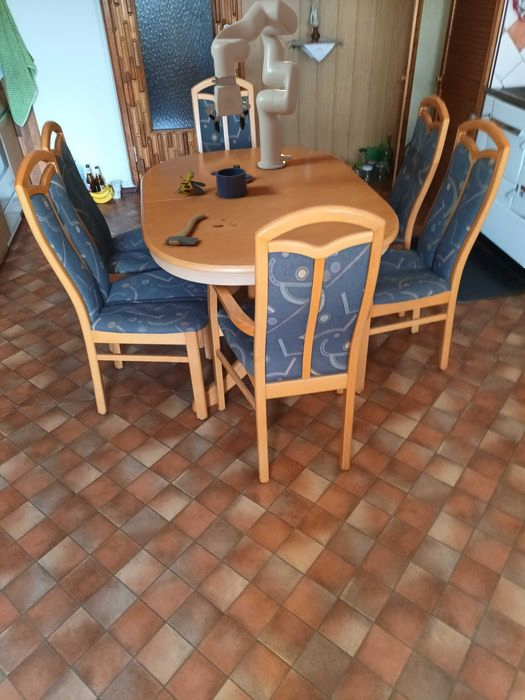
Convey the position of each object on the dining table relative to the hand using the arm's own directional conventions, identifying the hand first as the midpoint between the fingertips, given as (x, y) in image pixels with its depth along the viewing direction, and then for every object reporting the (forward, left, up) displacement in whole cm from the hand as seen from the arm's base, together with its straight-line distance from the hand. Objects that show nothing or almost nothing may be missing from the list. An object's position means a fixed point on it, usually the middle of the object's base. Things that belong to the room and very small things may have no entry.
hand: (230, 130), depth 202 cm
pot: (+2, +3, -23) cm, 23 cm away
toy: (+19, -3, -23) cm, 30 cm away
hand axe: (+25, +35, -23) cm, 49 cm away
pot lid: (-5, -13, -23) cm, 26 cm away
